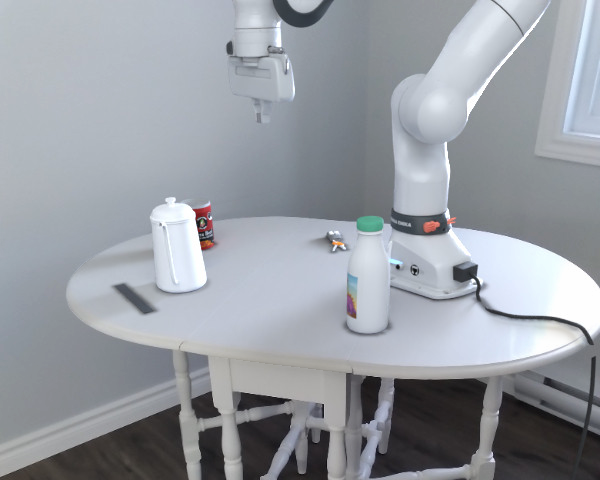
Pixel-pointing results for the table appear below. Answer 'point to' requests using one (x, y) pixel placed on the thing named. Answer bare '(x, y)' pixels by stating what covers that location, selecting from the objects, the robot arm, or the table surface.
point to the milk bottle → (368, 279)
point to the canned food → (202, 220)
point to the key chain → (335, 239)
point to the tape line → (134, 298)
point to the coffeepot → (176, 248)
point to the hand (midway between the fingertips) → (262, 123)
